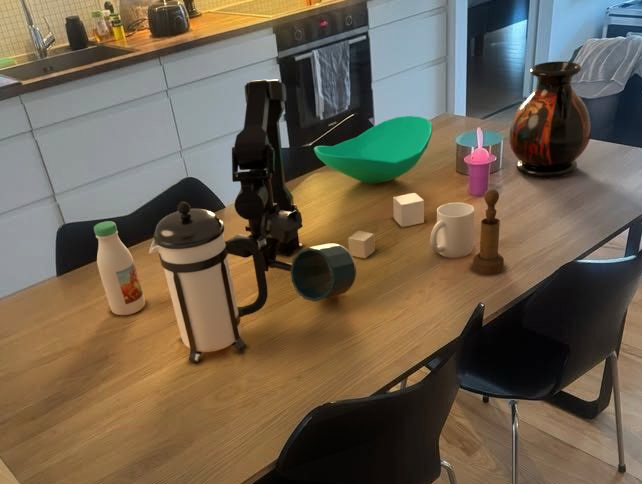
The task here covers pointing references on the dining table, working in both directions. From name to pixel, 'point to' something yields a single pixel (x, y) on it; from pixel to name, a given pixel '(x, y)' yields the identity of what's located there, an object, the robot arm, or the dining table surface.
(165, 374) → the dining table surface
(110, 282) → the milk bottle
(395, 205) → the white cube
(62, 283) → the dining table surface
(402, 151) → the table top decor
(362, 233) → the block
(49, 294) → the dining table surface
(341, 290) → the saucepan
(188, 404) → the dining table surface
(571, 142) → the amphora vase
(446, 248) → the mug
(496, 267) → the mortar and pestle
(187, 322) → the coffee press
